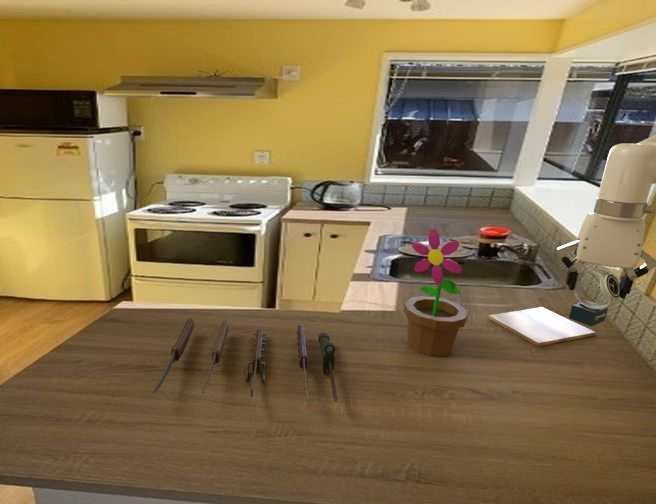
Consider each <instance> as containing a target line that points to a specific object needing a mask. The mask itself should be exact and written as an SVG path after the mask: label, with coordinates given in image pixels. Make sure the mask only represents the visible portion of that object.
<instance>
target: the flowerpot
mask: <svg viewBox="0 0 656 504" xmlns="http://www.w3.org/2000/svg"><path fill="white" fill-rule="evenodd" d="M427 238H428V246H429V247H430V248H429V247H428V246H427V245H426V244H424V243H422V242H419V241H417V242H416V241H413V242H412V243H411V247H412V249H413V250H414V252H416V253H417V254H418V255H421V256H427V258H423V259H421V260H419V261H418V262H416V264H415V266H414V268H413V270H414V272H415V273H423V272H424V271H426V270H428V269H430V267H431V265H433V266H432V269H431V276H432V277H431V278H432V280H433V281H434V283H435V285H436V288H435V287H433V286H429V285H427V286H421V287H420V290H421V291H422V292H424V293H425V294H426V295H417V296H412V297H409V298H407V299H406V301H405V302H404V303H403V313H404V315H405V317H406V318H407V343H408V345H409V347H410V348H411V350H413V351H415V352H416V353H418V354H420V355H421V354H422V355H424V356H428V357H435V358H436V357H437V358H441V357H446V356H449V355H450V354H451V353H452V351H453V348H454V345H455V342H456V339H457V336H458V333H459V330H460V329H461V328H464V327H465V325H466V324H467V321H468V315H469V312H468V311H467V309H466V308H465V307H464V306H463V305H461V304H459V303H457V302H455V301H454V300H453V301H452V300H450V299H446V298H442V297H441V289H443V290H444V291H445V292H446V293H448V294H451V295H459V294H460V292H461V291H460V290H459V289H460V288H459V287H458V286H457V284H456V282H454V281H453V280H451V279H450V278H444V271H443V268H444V269H445V270H447V271H449V272H450V273H452V274H461V273H462V271H463V269H462V267H461V266H460V265H459V262H456V261H455V260H453V259H451V258H445V257H444V256H450V255H452V254H453V253H455V252H456V251H457V250H458V248H459V247H460V244H461V243H460V242H459V241H458V240H452V241H451V240H450V241H449V242H446V244H444V245H442V247H441V249H439V248H440V247H439V246H440V245H441V241H440V239H441V238H440V234H439V233H438V232H437V230H436V229H435V228H432V229H430V231H429V233H428V236H427ZM430 249H431V250H430Z"/></svg>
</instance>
